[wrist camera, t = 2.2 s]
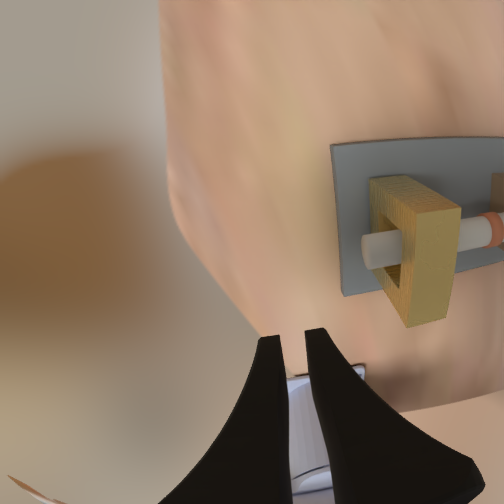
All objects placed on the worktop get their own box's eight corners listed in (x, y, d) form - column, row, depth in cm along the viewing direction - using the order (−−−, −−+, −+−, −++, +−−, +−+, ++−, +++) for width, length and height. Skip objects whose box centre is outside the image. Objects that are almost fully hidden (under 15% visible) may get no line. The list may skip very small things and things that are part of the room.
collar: (404, 174, 17) (461, 207, 11) (403, 263, 19) (445, 317, 14) (368, 178, 17) (416, 213, 11) (370, 270, 19) (406, 328, 14)
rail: (510, 137, 16) (558, 152, 11) (500, 255, 20) (536, 287, 16) (329, 144, 17) (358, 160, 12) (341, 290, 21) (361, 339, 17)
